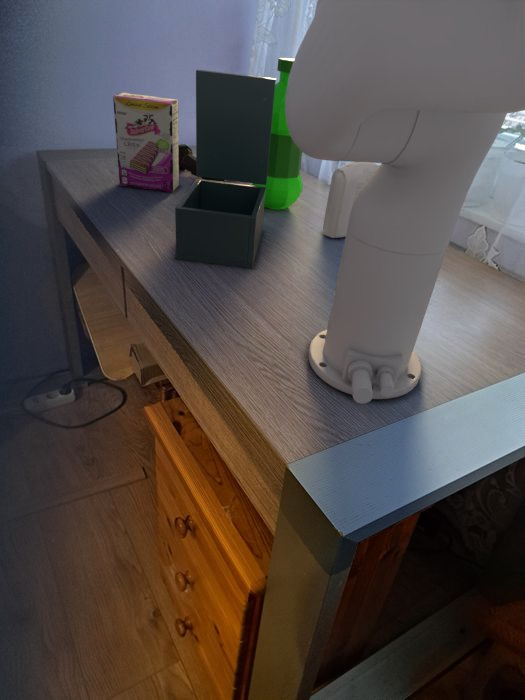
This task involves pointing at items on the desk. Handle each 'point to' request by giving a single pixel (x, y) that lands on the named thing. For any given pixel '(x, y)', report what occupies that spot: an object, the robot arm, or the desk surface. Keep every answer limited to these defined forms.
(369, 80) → the robot arm
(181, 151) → the microphone
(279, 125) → the plastic bottle
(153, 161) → the candy bar box
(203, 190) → the dark green open box
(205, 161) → the lid
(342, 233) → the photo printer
